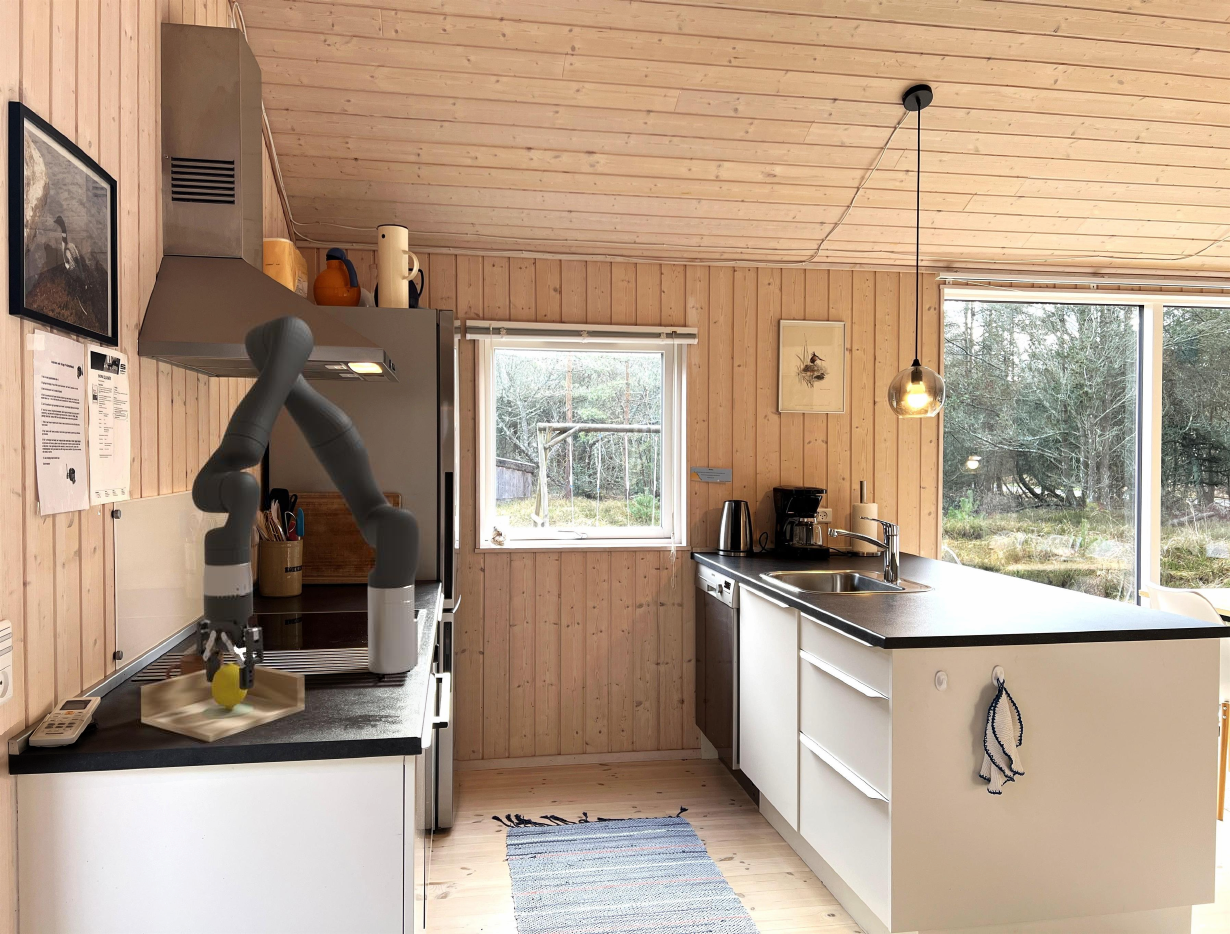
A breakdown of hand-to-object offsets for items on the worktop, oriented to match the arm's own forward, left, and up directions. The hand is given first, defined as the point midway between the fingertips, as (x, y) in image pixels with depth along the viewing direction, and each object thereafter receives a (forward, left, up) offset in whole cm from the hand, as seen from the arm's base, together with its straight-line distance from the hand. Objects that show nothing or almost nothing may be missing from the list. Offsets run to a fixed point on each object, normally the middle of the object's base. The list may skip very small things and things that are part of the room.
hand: (230, 685), depth 141 cm
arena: (0, -1, -5) cm, 6 cm away
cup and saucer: (-8, -20, -6) cm, 22 cm away
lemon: (0, 0, -4) cm, 4 cm away
